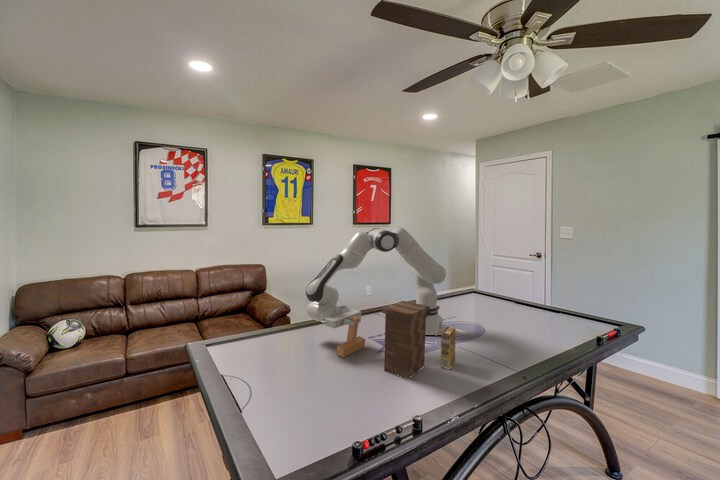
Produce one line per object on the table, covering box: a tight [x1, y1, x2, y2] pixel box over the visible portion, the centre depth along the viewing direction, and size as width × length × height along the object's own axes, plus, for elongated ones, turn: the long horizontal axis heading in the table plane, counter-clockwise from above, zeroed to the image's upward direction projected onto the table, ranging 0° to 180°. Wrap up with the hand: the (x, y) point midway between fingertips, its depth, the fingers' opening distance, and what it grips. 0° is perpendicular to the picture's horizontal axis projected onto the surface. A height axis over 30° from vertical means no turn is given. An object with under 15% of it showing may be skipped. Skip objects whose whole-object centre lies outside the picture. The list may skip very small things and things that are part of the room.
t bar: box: [335, 316, 366, 358], centre depth 154 cm, size 16×16×4 cm
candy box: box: [440, 326, 457, 369], centre depth 143 cm, size 9×4×15 cm, turn 150°
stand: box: [381, 300, 429, 379], centre depth 138 cm, size 16×13×26 cm
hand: (357, 321), depth 153 cm, fingers closed on t bar, 3 cm apart
